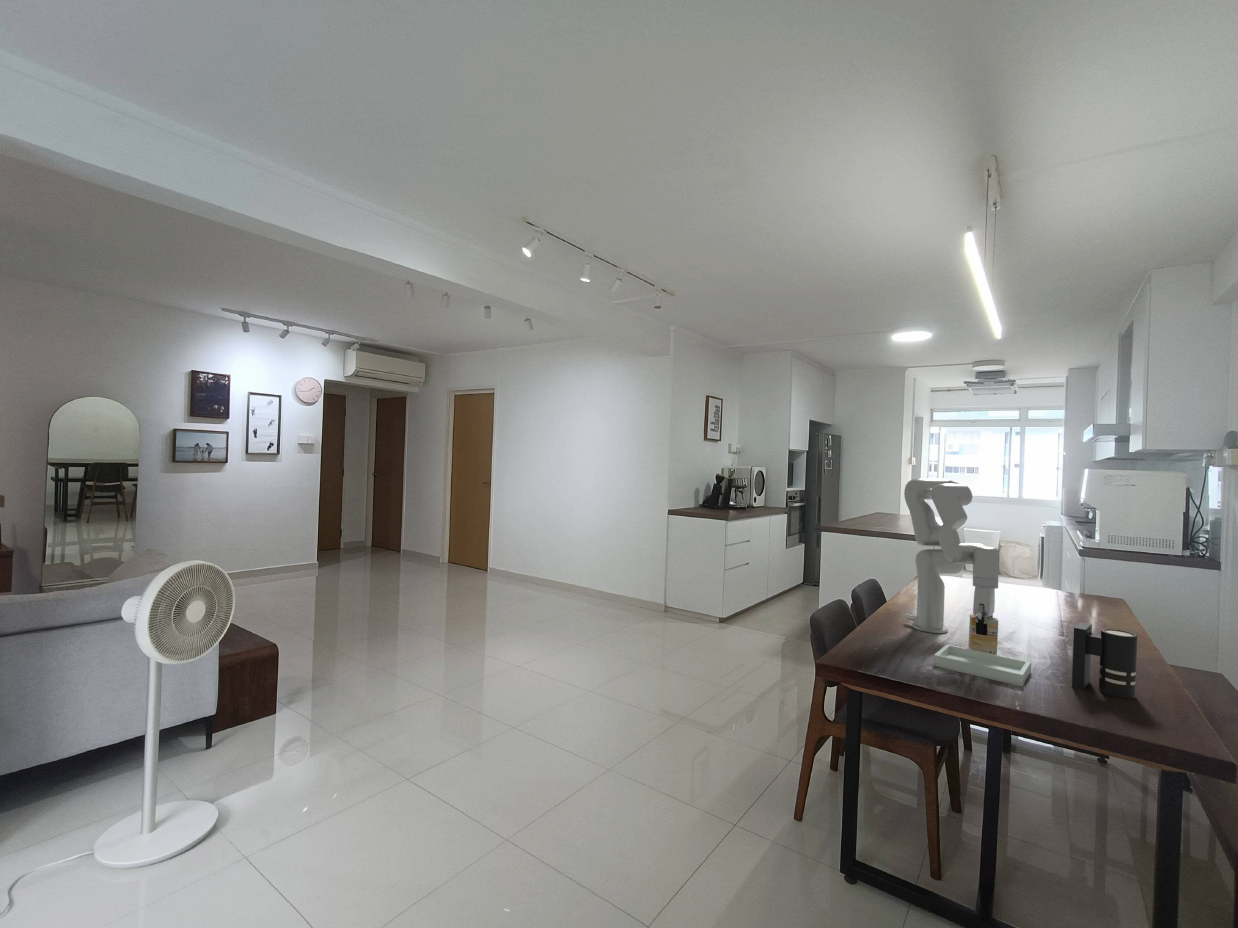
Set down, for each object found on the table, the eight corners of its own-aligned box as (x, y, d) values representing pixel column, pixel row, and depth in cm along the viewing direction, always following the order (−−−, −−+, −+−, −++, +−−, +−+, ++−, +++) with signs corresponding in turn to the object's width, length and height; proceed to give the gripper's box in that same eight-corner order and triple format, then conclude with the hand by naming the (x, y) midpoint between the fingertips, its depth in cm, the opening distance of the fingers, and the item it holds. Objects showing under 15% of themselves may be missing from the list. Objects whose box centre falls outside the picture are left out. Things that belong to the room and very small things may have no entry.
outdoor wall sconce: (1132, 702, 165) (1134, 639, 165) (1071, 687, 175) (1073, 627, 175) (1137, 693, 172) (1139, 632, 171) (1078, 679, 182) (1080, 621, 182)
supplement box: (969, 654, 203) (970, 616, 203) (968, 650, 207) (969, 613, 207) (997, 658, 199) (998, 620, 199) (995, 654, 203) (997, 617, 203)
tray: (933, 665, 191) (934, 654, 191) (946, 654, 203) (947, 643, 203) (1022, 686, 175) (1022, 674, 175) (1030, 672, 186) (1031, 661, 186)
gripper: (978, 577, 211) (977, 625, 211) (967, 583, 199) (966, 634, 199) (1003, 580, 206) (1002, 629, 206) (992, 587, 194) (992, 639, 194)
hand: (984, 631), depth 202 cm, fingers open, 9 cm apart
